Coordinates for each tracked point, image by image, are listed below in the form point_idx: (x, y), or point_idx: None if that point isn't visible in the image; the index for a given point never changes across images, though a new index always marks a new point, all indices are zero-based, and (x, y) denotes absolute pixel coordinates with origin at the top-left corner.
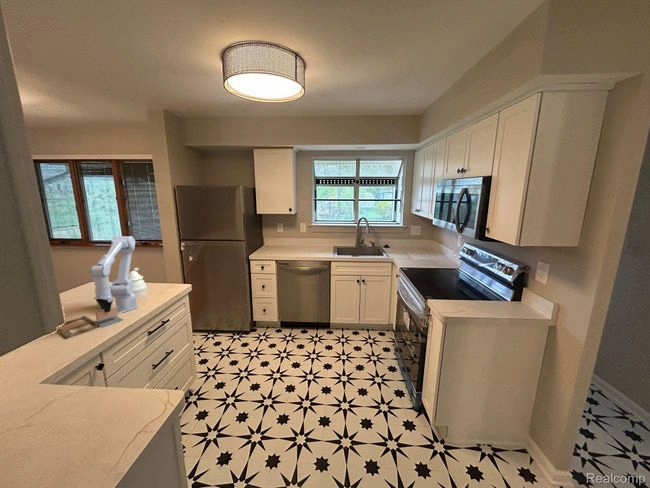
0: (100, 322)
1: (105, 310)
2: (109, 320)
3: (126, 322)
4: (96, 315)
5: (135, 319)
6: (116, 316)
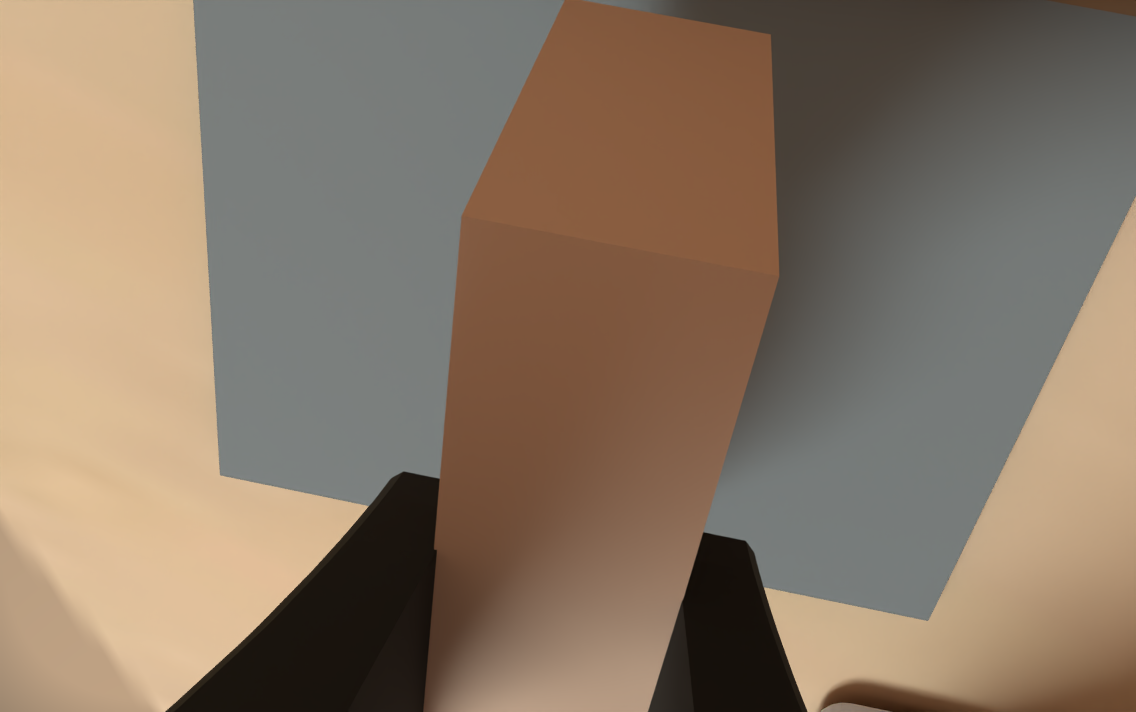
0: (780, 116)
1: (323, 571)
2: None
3: (65, 414)
4: (683, 131)
5: (73, 580)
6: None
